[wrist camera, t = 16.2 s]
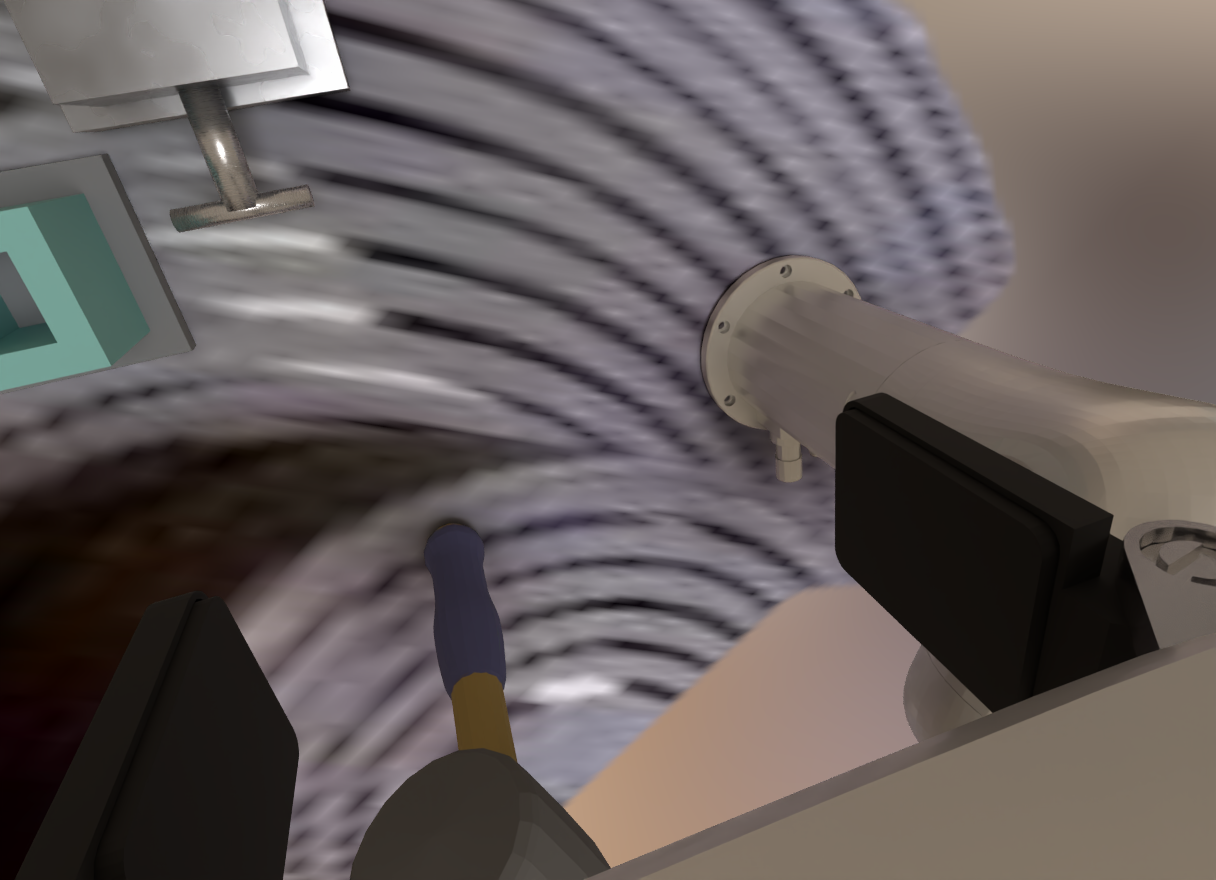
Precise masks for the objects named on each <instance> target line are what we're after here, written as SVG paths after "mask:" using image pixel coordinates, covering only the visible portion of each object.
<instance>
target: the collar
mask: <svg viewBox="0 0 1216 880" xmlns="http://www.w3.org/2000/svg"><path fill="white" fill-rule="evenodd" d="M6 251H7V253H8V255H9V257H10V258H11V260H12V262H13V264H14V265H15V267H16V269H17V271H18V273H19V274H20V276H21V278H22V280H23V282H24V283H25V285H26V287H27V289H28V291H29V292H30V294H31V296H32V298H33V300H34V301H35V303H36V305H37V307H38V309H39V310H40V312H41V314H42V316H43V317H44V319H45V321H46V323H41V324H36V325H32V326H27V327H22V328H19V326H18V324H17V323H16V321H15V319H14V317H13V316H12V314H11V312H10V311H9V309H8V307H7V305H6V304H5V302H4V300H3V298H2V297H1V295H0V391H2V390H6V389H11V388H15V387H20V386H24V385H29V384H33V383H38V382H42V381H47V380H51V379H56V378H60V377H65V376H69V375H74V374H78V373H83V372H87V371H92V370H96V369H101V368H105V367H110V366H112V365H113V364H114V363H115V362H116V361H118V360H119V359H120V358H121V357H122V356H123V355H124V354H125V353H126V352H128V351H129V350H130V349H131V348H132V347H133V346H134V345H135V344H137V343H138V342H139V341H140V340H141V339H142V338H143V337H144V336H145V335H147V334H148V333H149V332H150V329H149V327H148V325H147V323H146V321H145V318H144V316H143V314H142V312H141V310H140V308H139V306H138V304H137V302H136V300H135V298H134V296H133V294H132V292H131V290H130V288H129V286H128V283H127V281H126V279H125V277H124V275H123V273H122V271H121V269H120V267H119V265H118V263H117V261H116V259H115V257H114V255H113V253H112V251H111V249H110V246H109V244H108V242H107V240H106V238H105V236H104V234H103V232H102V230H101V228H100V226H99V224H98V222H97V220H96V218H95V216H94V214H93V211H92V209H91V207H90V205H89V203H88V201H87V199H86V197H85V195H84V193H83V194H77V195H71V196H66V197H60V198H54V199H49V200H43V201H37V202H32V203H26V204H20V205H15V206H9V207H3V208H0V253H1V252H6Z"/></svg>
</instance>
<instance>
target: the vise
mask: <svg viewBox="0 0 1216 880" xmlns="http://www.w3.org/2000/svg"><path fill="white" fill-rule="evenodd" d="M3 1H4V3H5V5H6V7H7V9H8V11H9V13H10V15H11V17H12V19H13V21H14V23H15V26H16V28H17V30H18V32H19V34H20V36H21V38H22V40H23V42H24V44H25V46H26V48H27V51H28V53H29V55H30V57H31V59H32V61H33V63H34V65H35V67H36V69H37V71H38V73H39V75H40V78H41V80H42V82H43V84H44V86H45V88H46V90H47V92H48V94H49V96H50V98H51V100H52V103H53V104H57V105H60V106H61V108H62V111H63V113H64V115H65V117H66V119H67V121H68V123H69V125H70V127H71V129H72V132H73V133H76V132H100V131H106V130H112V129H118V128H124V127H130V126H136V125H143V124H149V123H155V122H161V121H167V120H173V119H179V118H185V117H188V118H189V121H190V123H191V126H192V128H193V131H194V133H195V136H196V138H197V141H198V143H199V146H200V148H201V151H202V153H203V156H204V158H205V161H206V163H207V166H208V168H209V171H210V173H211V176H212V178H213V181H214V183H215V186H216V188H217V191H218V193H219V196H220V198H221V201H216V202H210V203H205V204H200V205H194V206H189V207H184V208H178V209H173V210H170V217H171V220H172V223H173V225H174V227H175V228H176V230H177V231H178V232H185V231H190V230H195V229H200V228H206V227H211V226H216V225H221V224H226V223H231V222H237V221H242V220H247V219H252V218H257V217H262V216H268V215H273V214H278V213H283V212H288V211H293V210H299V209H304V208H309V207H314V206H315V204H314V200H313V197H312V194H311V191H310V188H309V186H308V185H307V184H306V185H301V186H296V187H290V188H285V189H280V190H274V191H269V192H264V193H258V191H257V188H256V186H255V183H254V180H253V178H252V175H251V172H250V170H249V167H248V164H247V162H246V159H245V156H244V154H243V151H242V148H241V146H240V143H239V140H238V138H237V135H236V132H235V130H234V127H233V124H232V122H231V119H230V116H229V114H228V110H235V109H241V108H247V107H253V106H259V105H265V104H271V103H277V102H284V101H290V100H296V99H302V98H308V97H314V96H320V95H326V94H333V93H339V92H345V91H351V90H350V87H349V84H348V80H347V77H346V74H345V70H344V67H343V63H342V60H341V57H340V53H339V50H338V46H337V43H336V40H335V36H334V33H333V29H332V26H331V23H330V19H329V16H328V12H327V9H326V6H325V2H324V0H3Z"/></svg>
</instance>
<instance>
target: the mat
mask: <svg viewBox="0 0 1216 880" xmlns="http://www.w3.org/2000/svg"><path fill="white" fill-rule="evenodd" d="M83 193H84V195H85V197H86V199H87V201H88V203H89V205H90V207H91V209H92V211H93V214H94V216H95V218H96V220H97V222H98V224H99V226H100V228H101V230H102V232H103V234H104V236H105V238H106V240H107V242H108V244H109V246H110V249H111V251H112V253H113V255H114V257H115V259H116V261H117V263H118V265H119V267H120V269H121V271H122V273H123V275H124V277H125V279H126V281H127V283H128V286H129V288H130V290H131V292H132V294H133V296H134V298H135V300H136V302H137V304H138V306H139V308H140V310H141V312H142V314H143V316H144V318H145V321H146V323H147V325H148V327H149V329H150V332H149V333H148V334H147V335H145V336H144V337H143V338H142V339H141V340H140V341H139V342H138V343H137V344H135V345H134V346H133V347H132V348H131V349H130V350H129V351H128V352H126V353H125V354H124V355H123V356H122V357H121V358H120V359H119V360H118V361H116V362H115V363H114V364H113V365H112V366H110V367H105V368H101V369H96V370H92V371H87V372H83V373H78V374H74V375H69V376H65V377H60V378H56V379H51V380H47V381H42V382H38V383H33V384H29V385H24V386H20V387H15V388H11V389H6V390H2V391H0V394H3V393H8V392H12V391H16V390H21V389H25V388H30V387H34V386H39V385H43V384H47V383H52V382H56V381H61V380H65V379H70V378H74V377H78V376H83V375H87V374H92V373H96V372H101V371H105V370H109V369H114V368H118V367H123V366H127V365H132V364H136V363H140V362H145V361H149V360H154V359H158V358H163V357H167V356H171V355H176V354H180V353H185V352H189V351H192V350H193V349H194V348H195V346H196V344H195V342H194V340H193V338H192V336H191V333H190V331H189V329H188V327H187V325H186V323H185V320H184V318H183V316H182V314H181V312H180V310H179V307H178V305H177V303H176V301H175V299H174V297H173V294H172V292H171V290H170V288H169V286H168V284H167V281H166V279H165V277H164V275H163V273H162V271H161V268H160V266H159V264H158V262H157V260H156V258H155V255H154V253H153V251H152V249H151V247H150V244H149V242H148V240H147V238H146V236H145V234H144V231H143V229H142V227H141V225H140V223H139V221H138V218H137V216H136V214H135V212H134V210H133V208H132V205H131V203H130V201H129V199H128V197H127V195H126V192H125V190H124V188H123V186H122V184H121V182H120V179H119V177H118V175H117V173H116V171H115V169H114V166H113V164H112V162H111V160H110V158H109V156H108V154H103V155H96V156H90V157H85V158H79V159H73V160H67V161H61V162H55V163H49V164H43V165H37V166H31V167H25V168H20V169H14V170H8V171H2V172H0V208H3V207H9V206H15V205H20V204H26V203H32V202H37V201H43V200H49V199H54V198H60V197H66V196H71V195H77V194H83ZM0 295H1V297H2V298H3V300H4V302H5V304H6V305H7V307H8V309H9V311H10V312H11V314H12V316H13V317H14V319H15V321H16V323H17V324H18V326H19V328H22V327H27V326H32V325H36V324H41V323H46V321H45V319H44V317H43V316H42V314H41V312H40V310H39V309H38V307H37V305H36V303H35V301H34V300H33V298H32V296H31V294H30V292H29V291H28V289H27V287H26V285H25V283H24V282H23V280H22V278H21V276H20V274H19V273H18V271H17V269H16V267H15V265H14V264H13V262H12V260H11V258H10V257H9V255H8V253H7V251H6V252H1V253H0Z"/></svg>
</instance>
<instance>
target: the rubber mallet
mask: <svg viewBox="0 0 1216 880" xmlns="http://www.w3.org/2000/svg"><path fill="white" fill-rule="evenodd" d="M424 557H425V564H426V566H427V568H428V570H429V572H430V573H431V575H432V578H433V585H434V594H435V616H434V639H435V646H436V652H437V658H438V663H439V667H440V671H441V675H442V679H443V683H444V686H445V689H446V691H447V693H448V695H449V697H450V698H451V700H452V705H453V712H454V720H455V727H456V734H457V742H458V749H459V750H458V751H456V752H453V753H451V754H448V755H446V756H444V757H441V758H439V759H436V760H434V761H432V762H431V763H429V764H428V765H426V766H425V767H424V768H422V769H421V770H419V771H418V772H417V773H415V774H414V775H412V776H411V777H409V778H408V779H407V780H406V781H405V782H404V783H403V784H402V785H401V786H400V787H399V788H398V789H397V790H396V791H395V792H394V794H393V795H392V796H391V797H390V798H389V799H388V800H387V801H386V802H385V803H384V805H383V806H382V808H381V810H380V811H379V813H378V814H377V816H376V817H375V819H374V820H373V822H372V823H371V825H370V826H369V828H368V829H367V831H366V833H365V835H364V838H363V840H362V842H361V845H360V847H359V850H358V852H357V854H356V857H355V859H354V862H353V864H352V870H351V876H350V880H584V879H587V878H589V877H592V876H594V875H596V874H599V873H601V872H604V871H606V870H608V869H611V868H610V866H609V864H608V863H607V861H606V860H605V858H604V857H603V855H602V853H601V852H600V851H599V849H598V847H597V846H596V844H595V842H593V840H592V839H591V838H590V837H589V836H588V835H587V834H586V833H585V831H584V830H583V829H582V828H581V827H580V826H579V825H578V824H577V823H576V822H575V821H574V819H573V818H572V817H571V816H570V815H569V814H568V813H567V812H566V810H565V809H564V808H563V807H562V806H561V805H560V804H559V803H558V802H557V801H556V800H555V799H554V798H553V797H552V796H551V795H550V794H549V793H548V792H547V791H546V790H545V789H544V788H543V787H542V786H541V785H540V784H539V783H538V782H537V781H536V780H535V779H534V778H533V777H532V776H531V775H530V774H529V773H528V772H527V771H526V770H525V769H524V768H523V767H521V766H520V765H519V764H518V763H517V758H516V753H515V748H514V743H513V738H512V733H511V728H510V723H509V718H508V713H507V708H506V703H505V698H504V693H503V690H504V686H505V681H506V663H505V652H504V641H503V634H502V629H501V624H500V619H499V616H498V613H497V611H496V608H495V606H494V604H493V602H492V600H491V598H490V595H489V592H488V589H487V584H486V580H485V575H484V570H483V560H484V545H483V542H482V540H481V538H480V537H479V535H478V534H477V532H476V531H474V530H473V529H471V528H470V527H467V526H464V525H461V524H451V523H449V524H446V525H444V526H441V527H439V528H438V529H437V530H436V531H435V532H434V533H433V534H432V535H431V536H430V538H429V539H428V541H427V544H426V547H425V550H424Z"/></svg>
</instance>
